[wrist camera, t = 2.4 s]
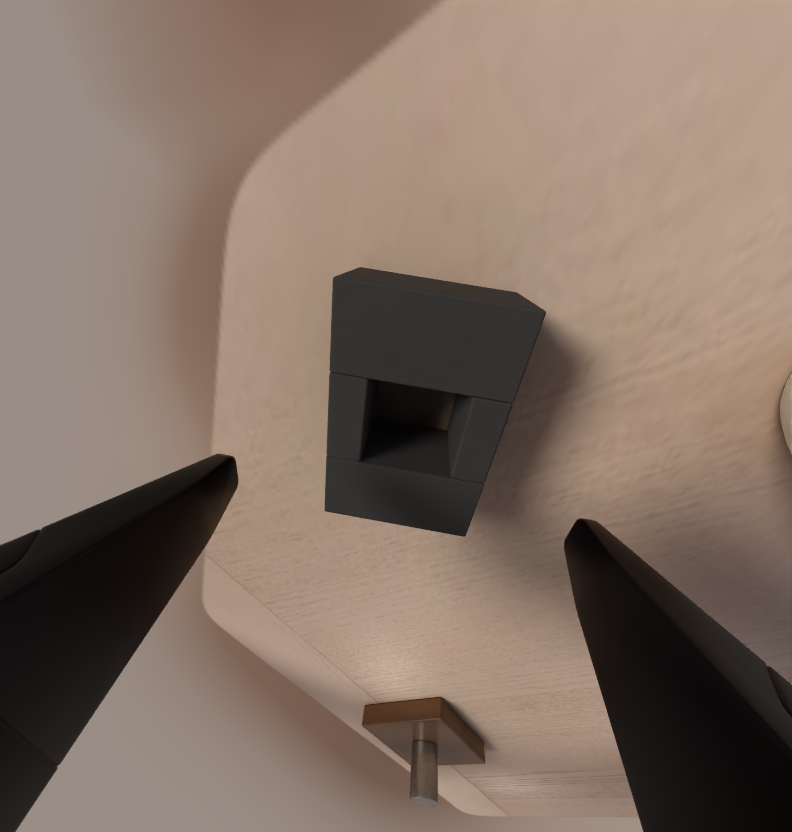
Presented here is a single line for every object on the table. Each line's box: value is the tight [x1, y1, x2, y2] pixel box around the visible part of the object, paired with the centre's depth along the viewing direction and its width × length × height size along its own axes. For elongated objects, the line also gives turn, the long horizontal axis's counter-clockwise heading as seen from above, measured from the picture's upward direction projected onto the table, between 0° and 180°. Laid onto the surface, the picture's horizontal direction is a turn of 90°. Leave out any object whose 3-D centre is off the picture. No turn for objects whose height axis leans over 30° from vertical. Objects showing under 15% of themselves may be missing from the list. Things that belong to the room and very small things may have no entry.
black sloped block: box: [325, 267, 546, 537], centre depth 13 cm, size 9×6×4 cm, turn 172°
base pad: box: [362, 697, 485, 807], centre depth 29 cm, size 10×8×5 cm
